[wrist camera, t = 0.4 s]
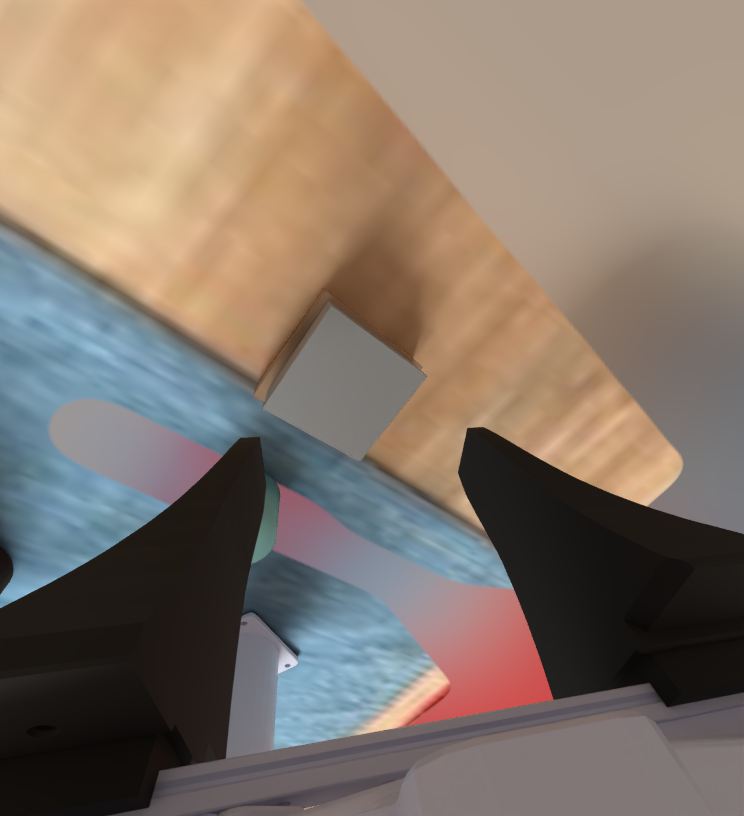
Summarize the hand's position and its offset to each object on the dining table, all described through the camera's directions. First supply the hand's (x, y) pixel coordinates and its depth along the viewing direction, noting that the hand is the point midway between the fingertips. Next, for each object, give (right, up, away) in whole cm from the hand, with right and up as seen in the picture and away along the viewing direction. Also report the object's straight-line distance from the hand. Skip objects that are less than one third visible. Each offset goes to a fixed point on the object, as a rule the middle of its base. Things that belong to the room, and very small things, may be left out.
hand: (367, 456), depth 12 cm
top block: (-2, +3, +8) cm, 8 cm away
